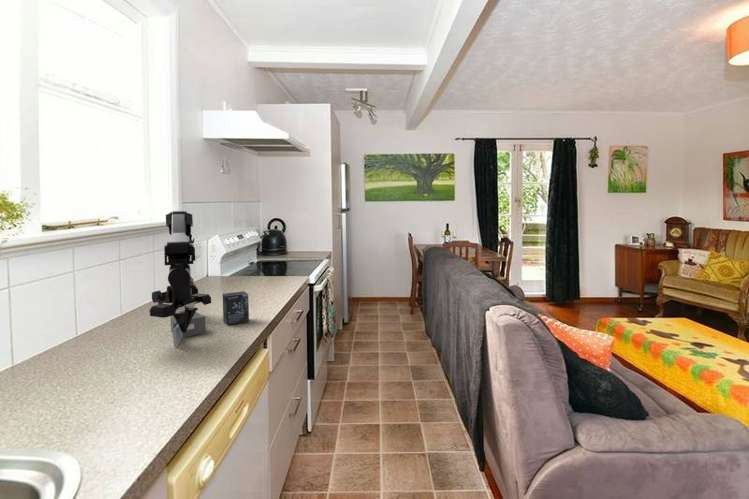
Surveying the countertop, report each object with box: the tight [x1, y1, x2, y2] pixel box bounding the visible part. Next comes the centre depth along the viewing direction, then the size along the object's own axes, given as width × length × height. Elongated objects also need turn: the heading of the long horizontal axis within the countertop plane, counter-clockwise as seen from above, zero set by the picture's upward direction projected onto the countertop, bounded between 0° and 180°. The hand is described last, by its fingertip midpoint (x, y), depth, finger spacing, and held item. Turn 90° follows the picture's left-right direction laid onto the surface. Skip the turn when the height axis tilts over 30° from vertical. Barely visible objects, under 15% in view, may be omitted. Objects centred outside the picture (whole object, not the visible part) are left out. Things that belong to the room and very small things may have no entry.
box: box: [222, 290, 250, 326], centre depth 154 cm, size 8×6×11 cm
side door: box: [172, 324, 184, 347], centre depth 132 cm, size 1×9×5 cm, turn 12°
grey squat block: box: [169, 311, 207, 338], centre depth 142 cm, size 9×9×6 cm
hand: (183, 332), depth 131 cm, fingers closed
